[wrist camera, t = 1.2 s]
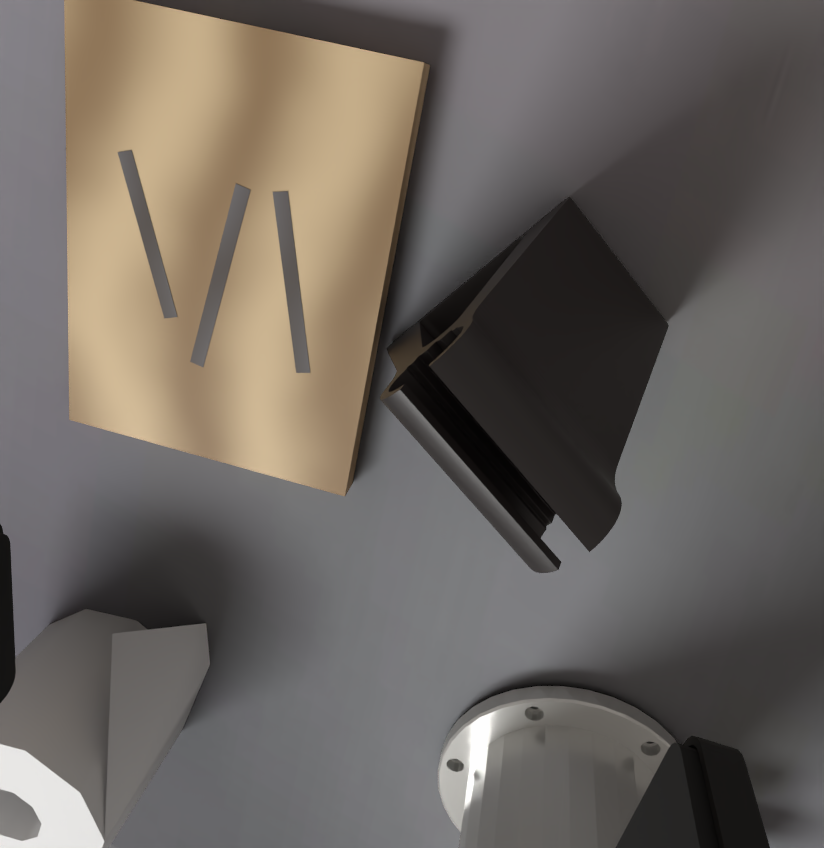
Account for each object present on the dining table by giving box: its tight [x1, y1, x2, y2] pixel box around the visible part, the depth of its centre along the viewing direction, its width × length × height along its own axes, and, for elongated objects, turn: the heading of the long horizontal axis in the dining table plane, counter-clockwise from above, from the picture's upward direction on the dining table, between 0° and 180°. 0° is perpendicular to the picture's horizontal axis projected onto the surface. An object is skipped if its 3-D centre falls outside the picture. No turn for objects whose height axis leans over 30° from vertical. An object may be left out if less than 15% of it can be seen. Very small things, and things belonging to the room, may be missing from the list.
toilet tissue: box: [0, 609, 210, 848], centre depth 35 cm, size 9×13×9 cm
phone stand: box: [380, 197, 669, 573], centre depth 22 cm, size 9×6×12 cm, turn 132°
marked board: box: [64, 0, 430, 496], centre depth 28 cm, size 13×17×1 cm
